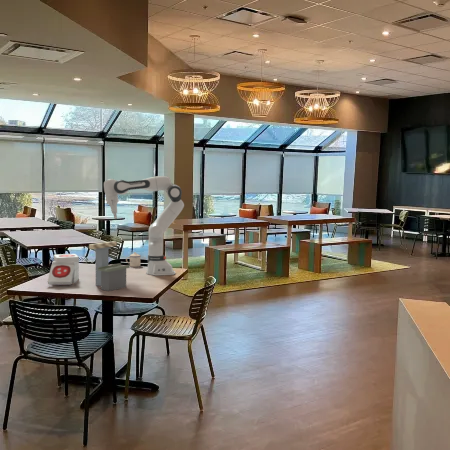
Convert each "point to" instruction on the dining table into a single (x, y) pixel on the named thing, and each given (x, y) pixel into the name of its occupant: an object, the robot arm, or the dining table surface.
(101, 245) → the block
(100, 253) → the plinth
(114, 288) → the box with lid
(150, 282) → the dining table surface
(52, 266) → the white box
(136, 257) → the teacup with lid
